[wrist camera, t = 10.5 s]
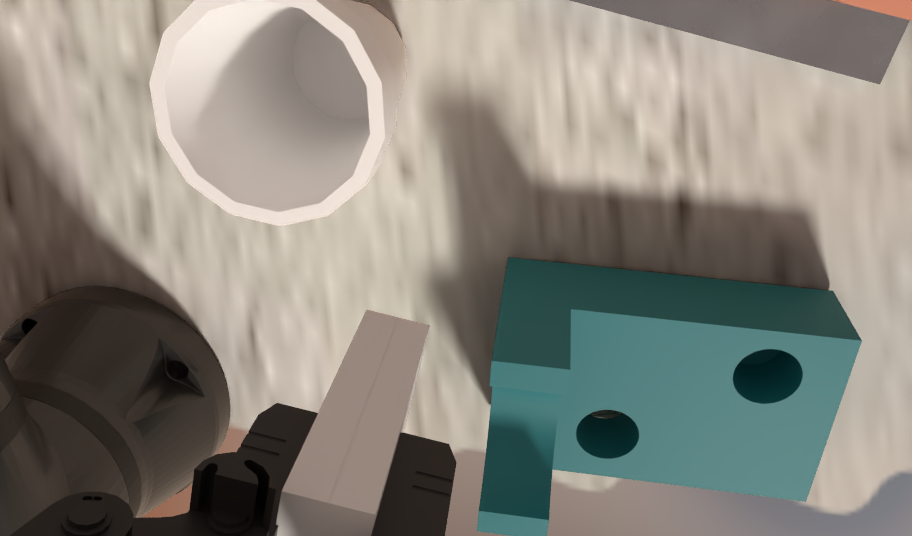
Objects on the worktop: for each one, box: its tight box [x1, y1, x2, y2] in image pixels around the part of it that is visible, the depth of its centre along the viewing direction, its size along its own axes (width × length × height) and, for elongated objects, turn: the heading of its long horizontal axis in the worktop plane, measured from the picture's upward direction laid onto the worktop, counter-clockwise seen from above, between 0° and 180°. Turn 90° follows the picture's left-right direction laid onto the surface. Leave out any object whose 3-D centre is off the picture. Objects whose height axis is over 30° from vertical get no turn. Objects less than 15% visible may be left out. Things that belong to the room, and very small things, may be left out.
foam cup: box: [149, 0, 407, 226], centre depth 37 cm, size 10×9×13 cm
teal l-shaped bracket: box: [477, 257, 862, 536], centre depth 43 cm, size 18×11×10 cm, turn 87°
